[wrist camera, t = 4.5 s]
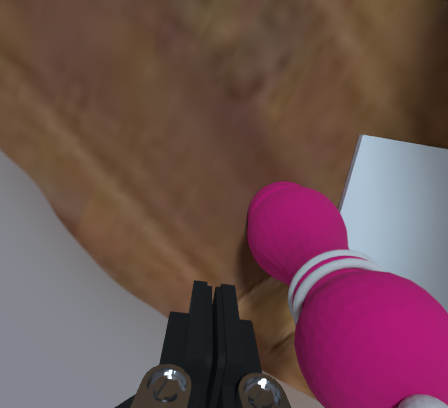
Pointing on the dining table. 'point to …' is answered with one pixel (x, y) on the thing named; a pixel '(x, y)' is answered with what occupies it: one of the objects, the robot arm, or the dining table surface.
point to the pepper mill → (348, 308)
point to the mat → (400, 210)
